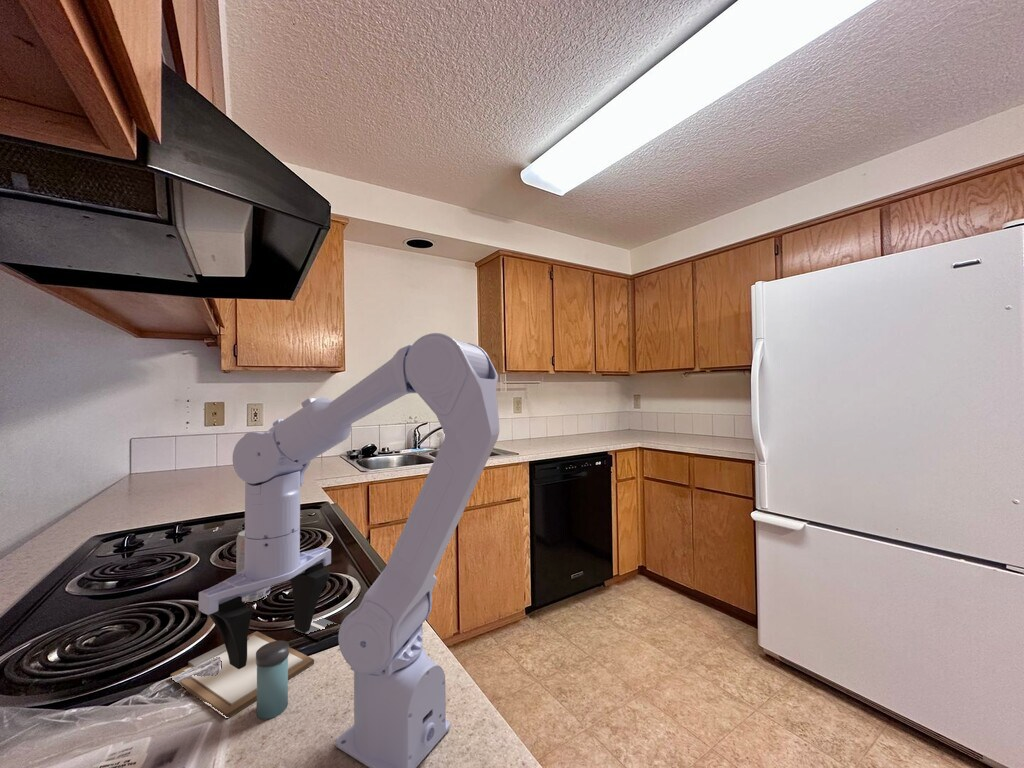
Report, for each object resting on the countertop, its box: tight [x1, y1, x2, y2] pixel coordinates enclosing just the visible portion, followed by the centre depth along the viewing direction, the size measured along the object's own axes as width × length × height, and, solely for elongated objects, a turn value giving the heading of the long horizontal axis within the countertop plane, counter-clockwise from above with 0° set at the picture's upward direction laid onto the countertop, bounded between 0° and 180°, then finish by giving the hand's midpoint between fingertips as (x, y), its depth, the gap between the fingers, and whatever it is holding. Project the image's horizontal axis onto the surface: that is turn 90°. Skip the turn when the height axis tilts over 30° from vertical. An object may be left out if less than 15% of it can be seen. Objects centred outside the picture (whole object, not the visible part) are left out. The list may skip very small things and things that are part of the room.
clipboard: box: [170, 631, 315, 718], centre depth 55 cm, size 14×11×1 cm
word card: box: [293, 617, 337, 634], centre depth 65 cm, size 6×4×1 cm, turn 61°
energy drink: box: [235, 529, 271, 603], centre depth 75 cm, size 5×5×12 cm
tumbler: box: [256, 639, 290, 721], centre depth 48 cm, size 3×3×7 cm
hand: (272, 646), depth 48 cm, fingers open, 7 cm apart
